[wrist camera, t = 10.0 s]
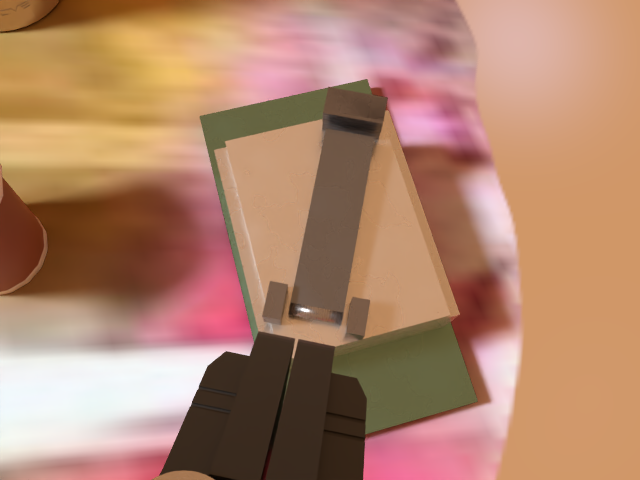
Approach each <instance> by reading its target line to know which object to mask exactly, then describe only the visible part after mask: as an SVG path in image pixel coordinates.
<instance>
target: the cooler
mask: <svg viewBox="0 0 640 480" xmlns="http://www.w3.org/2000/svg"><path fill="white" fill-rule="evenodd" d="M387 99H388V98H387V97H382V96H376V95H372V92H371V89H370V86H369V83H368V80H367V79H366V80H361V81H357V82H352V83H348V84H343V85H339V86H334V87H328V88H325V89H320V90H316V91H311V92H307V93H302V94H298V95H293V96H289V97H284V98H280V99H275V100H271V101H266V102H262V103H257V104H252V105H248V106H243V107H239V108H234V109H230V110H225V111H221V112H216V113H212V114H207V115H203V116H200V120H201V124H202V128H203V132H204V137H205V141H206V145H207V149H208V153H209V157H210V161H211V166H212V170H213V174H214V178H215V182H216V186H217V190H218V195H219V199H220V203H221V207H222V211H223V215H224V220H225V224H226V228H227V232H228V236H229V240H230V244H231V249H232V253H233V257H234V261H235V265H236V269H237V273H238V278H239V282H240V286H241V290H242V294H243V298H244V302H245V307H246V311H247V315H248V319H249V323H250V327H251V332H252V336H253V340H254V342H255V339H256V336H257V334H258V332H259V331H262V332H266V333H271V334H276V335H281V336H286V337H291V338H295V344H294V349H293V355H292V360H291V365H290V371H289V376H288V381H289V377H290V373H291V368H292V364H293V360H294V356H295V351H296V347H297V343H298V339H302V340H306V341H311V342H316V343H321V344H326V345H331V346H335V350H334V358H333V365H332V372H331V373H335V374H340V375H345V376H349V377H354V378H357V379H358V381H359V383H360V385H361V387H362V389H363V391H364V394H365V396H366V398H367V409H366V422H365V424H366V429H365V434H368V433H372V432H375V431H379V430H382V429H385V428H389V427H392V426H396V425H399V424H403V423H406V422H409V421H413V420H416V419H420V418H423V417H427V416H430V415H433V414H437V413H440V412H444V411H447V410H451V409H454V408H457V407H461V406H464V405H468V404H471V403H475V402H478V400H477V397H476V394H475V391H474V389H473V386H472V383H471V380H470V377H469V374H468V371H467V368H466V365H465V362H464V360H463V357H462V354H461V351H460V348H459V345H458V342H457V339H456V336H455V333H454V330H453V328H452V325H451V321H452V320H454V319H455V318H456V317H457V316H459V315H460V313H459V310H458V307H457V304H456V302H455V299H454V296H453V293H452V290H451V287H450V284H449V282H448V279H447V276H446V273H445V270H444V267H443V264H442V262H441V259H440V256H439V253H438V250H437V247H436V244H435V242H434V239H433V236H432V233H431V230H430V227H429V224H428V222H427V219H426V216H425V213H424V210H423V207H422V204H421V202H420V199H419V196H418V193H417V190H416V187H415V185H414V182H413V179H412V176H411V173H410V170H409V167H408V165H407V162H406V159H405V156H404V153H403V150H402V147H401V145H400V142H399V139H398V136H397V133H396V130H395V127H394V125H393V122H392V119H391V116H390V113H389V110H387V111H385V110H386V104H387ZM326 128H328V129H333V130H339V131H344V132H349V133H355V134H360V135H366V136H371V137H375V140H374V145H373V151H372V157H371V162H370V168H369V173H368V179H367V184H366V190H365V196H364V201H363V207H362V212H361V218H360V224H359V229H358V235H357V240H356V246H355V252H354V257H353V263H352V268H351V274H350V280H349V285H348V291H347V296H346V302H345V308H344V313H343V319H342V324H341V325H337V324H332V323H327V322H322V321H316V320H311V319H306V318H301V317H296V316H290V315H288V312H289V307H290V302H291V297H292V292H293V287H294V282H295V277H296V273H297V268H298V263H299V258H300V253H301V248H302V243H303V238H304V233H305V228H306V224H307V219H308V214H309V209H310V204H311V199H312V194H313V189H314V184H315V179H316V175H317V170H318V165H319V160H320V155H321V150H322V145H323V140H324V135H325V130H326ZM288 381H287V386H288ZM286 390H287V387H286ZM285 394H286V392H285Z"/></svg>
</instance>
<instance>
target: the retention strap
mask: <svg viewBox="0 0 640 480" xmlns="http://www.w3.org/2000/svg"><path fill="white" fill-rule="evenodd" d="M374 140H375V137H371V136H366V135H360V134H355V133H349V132H344V131H339V130H333V129H328V128H326V130H325V135H324V140H323V145H322V150H321V155H320V160H319V165H318V170H317V175H316V179H315V184H314V189H313V194H312V199H311V204H310V209H309V214H308V219H307V224H306V228H305V233H304V238H303V243H302V248H301V253H300V258H299V263H298V268H297V273H296V277H295V282H294V287H293V292H292V297H291V302H290V307H289V312H288V315H290V316H296V317H301V318H306V319H311V320H316V321H322V322H327V323H332V324H337V325H341V324H342V319H343V313H344V308H345V302H346V296H347V291H348V285H349V280H350V274H351V268H352V263H353V257H354V252H355V246H356V240H357V235H358V229H359V224H360V218H361V212H362V207H363V201H364V196H365V190H366V184H367V179H368V173H369V168H370V162H371V157H372V151H373V145H374Z"/></svg>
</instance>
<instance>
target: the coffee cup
mask: <svg viewBox="0 0 640 480" xmlns="http://www.w3.org/2000/svg"><path fill="white" fill-rule="evenodd" d="M47 251H48V244H47V232H46V231H45V229H44V227H43V226H42V224H41V222H40V220H39V219H38V218H37V217H36V216H35V215H34V214H33V213H32V212H31V210H30V209H29V208H28V207H27V206H26V204H25V203H24V202H23V201H22V200H21V199H20V197H19V196H18V195H17V194H16V193H15V192H14V190H13V189H12V188H11V187H10V186H9V184H8V183H7V182H6V181H5V180H4V179H3V177H2V166H1V164H0V295H2V294H7V293H12V292H14V291H15V290H17V289H19V288H20V287H22V286H24V285H26V284H27V283H29V282H30V281H31V280H32V278H33V277H34V276H35V275H36V274H37V272H38V271H39V270H40V269H41V268H42V266H43V263H44V260H45V257H46V254H47Z"/></svg>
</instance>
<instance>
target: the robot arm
mask: <svg viewBox="0 0 640 480" xmlns="http://www.w3.org/2000/svg"><path fill="white" fill-rule="evenodd" d="M58 2H59V0H0V31H9V30H15V29H19V28H22V27H26V26H28V25H30V24H32V23H35V22H37V21H38V20H40V19H41V18H43V17H44V16H46V15H47V14H48V13H49V12H50V11H51V10H52V9H53V8H54V7H55V6H56V5H57V3H58ZM294 344H295V338H291V337H286V336H281V335H276V334H271V333H266V332H262V331H259V332H258V334H257V336H256V339H255V342H254V345H253V348H252V351H251V354H250V356H246V355H241V354H236V353H232V352H227V351H226V352H225V353H223V354H222V355H221V356H220V357H218V358H217V359H216V360H215V361H213V362H212V363H211V364H210V365H209V366H208V367H207V369H206V371H205V374H204V376H203V378H202V380H201V383H200V385H199V389H198V390H197V392H196V394H195V396H194V399H193V401H192V405H191V407H190V408H189V410H188V412H187V415H186V417H185V419H184V422H183V424H182V426H181V428H180V431H179V433H178V435H177V438H176V440H175V442H174V445H173V447H172V449H171V451H170V454H169V456H168V458H167V461H166V463H165V465H164V467H163V469H162V471H161V473H160V475H159V476H158V477H156V478H154V479H152V480H363V469H364V449H365V442H364V441H365V429H366V424H365V422H366V409H367V398H366V396H365V394H364V391H363V389H362V387H361V385H360V383H359V381H358V379H357V378H354V377H349V376H345V375H340V374H335V373H331V372H332V365H333V358H334V350H335V346H331V345H326V344H321V343H316V342H311V341H306V340H302V339H298V343H297V347H296V351H295V356H294V360H293V364H292V368H291V373H290V377H289V381H288V376H289V371H290V365H291V360H292V355H293V349H294ZM287 381H288V386H287ZM286 387H287V390H286ZM285 392H286V394H285Z"/></svg>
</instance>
